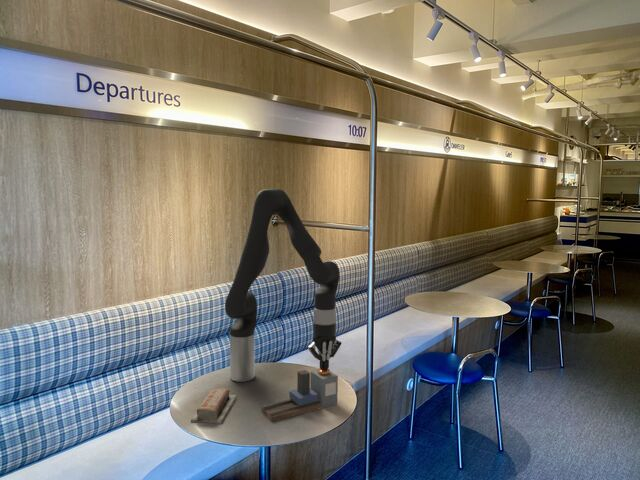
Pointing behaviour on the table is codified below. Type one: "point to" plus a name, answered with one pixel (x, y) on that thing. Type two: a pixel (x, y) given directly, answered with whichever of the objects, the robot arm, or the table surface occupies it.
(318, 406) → the rail bed
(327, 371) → the orange push button
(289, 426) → the table surface
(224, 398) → the packaged product
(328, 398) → the end cabinet
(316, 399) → the carriage
